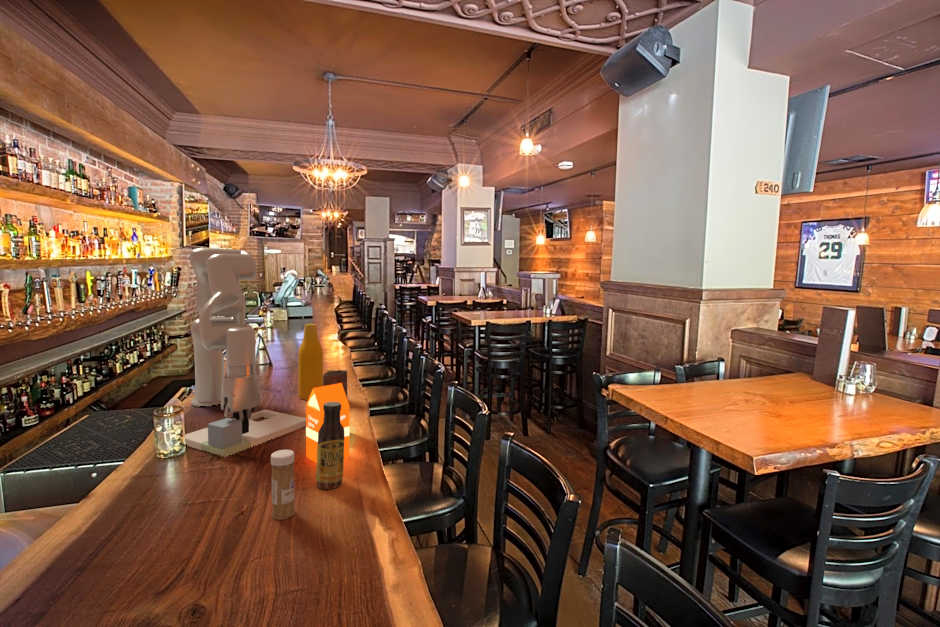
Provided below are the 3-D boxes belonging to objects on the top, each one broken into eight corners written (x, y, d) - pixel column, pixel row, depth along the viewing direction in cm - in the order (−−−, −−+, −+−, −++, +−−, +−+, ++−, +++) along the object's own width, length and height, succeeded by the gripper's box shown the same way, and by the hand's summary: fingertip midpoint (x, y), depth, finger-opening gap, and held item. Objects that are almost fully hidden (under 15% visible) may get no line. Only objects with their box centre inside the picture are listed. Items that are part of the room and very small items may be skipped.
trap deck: (178, 443, 133) (178, 436, 133) (265, 414, 160) (265, 409, 159) (225, 457, 124) (225, 450, 124) (308, 424, 151) (308, 419, 151)
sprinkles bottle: (293, 519, 95) (292, 456, 94) (269, 521, 94) (268, 458, 93) (296, 508, 100) (295, 448, 98) (273, 510, 99) (272, 449, 97)
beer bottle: (328, 396, 184) (328, 324, 181) (308, 401, 176) (308, 326, 173) (312, 392, 189) (312, 322, 186) (293, 397, 181) (292, 324, 178)
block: (208, 444, 128) (207, 423, 127) (228, 438, 133) (227, 417, 132) (222, 449, 125) (222, 427, 124) (242, 441, 130) (241, 421, 130)
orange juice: (349, 456, 127) (350, 385, 125) (320, 465, 121) (320, 391, 119) (334, 448, 133) (334, 380, 131) (305, 456, 126) (305, 385, 124)
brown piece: (340, 439, 139) (340, 374, 137) (318, 437, 141) (317, 372, 139) (351, 431, 147) (352, 369, 145) (330, 428, 148) (330, 367, 146)
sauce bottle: (318, 493, 107) (318, 409, 105) (314, 481, 112) (313, 401, 110) (347, 487, 110) (347, 405, 108) (341, 476, 115) (341, 398, 113)
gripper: (254, 364, 141) (255, 422, 143) (208, 373, 127) (210, 438, 129) (272, 367, 138) (272, 427, 139) (226, 377, 124) (228, 443, 126)
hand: (242, 432), depth 134 cm, fingers closed
